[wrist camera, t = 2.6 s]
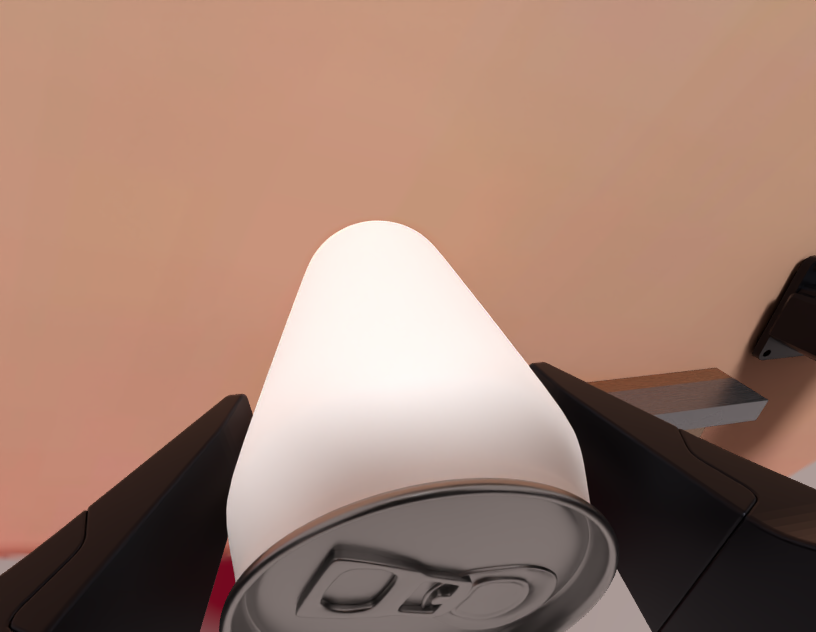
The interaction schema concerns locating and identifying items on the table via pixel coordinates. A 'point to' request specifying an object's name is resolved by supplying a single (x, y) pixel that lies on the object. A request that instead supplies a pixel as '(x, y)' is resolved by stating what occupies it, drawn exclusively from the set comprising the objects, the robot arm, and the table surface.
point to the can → (407, 463)
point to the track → (689, 398)
